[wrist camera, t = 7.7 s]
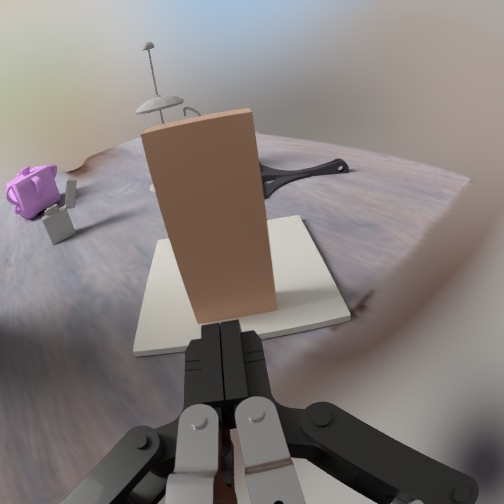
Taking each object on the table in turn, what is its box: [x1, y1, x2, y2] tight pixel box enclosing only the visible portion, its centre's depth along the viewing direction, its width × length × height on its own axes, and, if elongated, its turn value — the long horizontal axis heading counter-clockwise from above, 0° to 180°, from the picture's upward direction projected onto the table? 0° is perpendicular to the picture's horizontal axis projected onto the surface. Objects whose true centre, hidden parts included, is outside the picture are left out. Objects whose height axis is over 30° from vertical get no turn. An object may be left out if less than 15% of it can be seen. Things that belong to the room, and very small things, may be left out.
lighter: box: [42, 178, 77, 245], centre depth 40 cm, size 7×2×8 cm, turn 129°
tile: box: [141, 108, 278, 324], centre depth 20 cm, size 6×2×14 cm, turn 96°
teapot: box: [5, 165, 61, 219], centre depth 54 cm, size 18×14×10 cm
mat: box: [133, 215, 351, 357], centre depth 28 cm, size 16×16×1 cm
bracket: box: [259, 158, 349, 199], centre depth 46 cm, size 14×15×3 cm
